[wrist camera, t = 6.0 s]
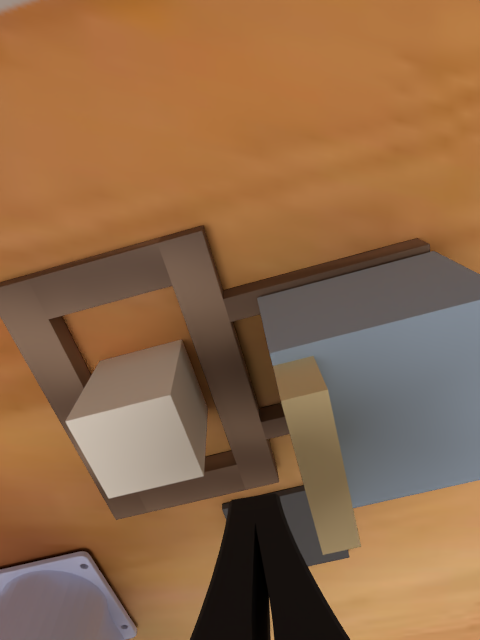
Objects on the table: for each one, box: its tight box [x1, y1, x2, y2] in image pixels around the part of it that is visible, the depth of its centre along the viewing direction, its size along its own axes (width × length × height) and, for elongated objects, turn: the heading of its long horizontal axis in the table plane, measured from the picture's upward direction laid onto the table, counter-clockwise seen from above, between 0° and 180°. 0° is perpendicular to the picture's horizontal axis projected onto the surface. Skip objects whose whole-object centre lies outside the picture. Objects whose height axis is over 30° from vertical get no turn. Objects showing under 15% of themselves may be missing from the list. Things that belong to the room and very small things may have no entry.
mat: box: [222, 486, 349, 566], centre depth 26 cm, size 7×7×1 cm
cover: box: [257, 251, 480, 555], centre depth 16 cm, size 8×8×7 cm
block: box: [65, 339, 208, 498], centre depth 19 cm, size 4×4×5 cm
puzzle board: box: [0, 226, 430, 520], centre depth 21 cm, size 15×20×1 cm
